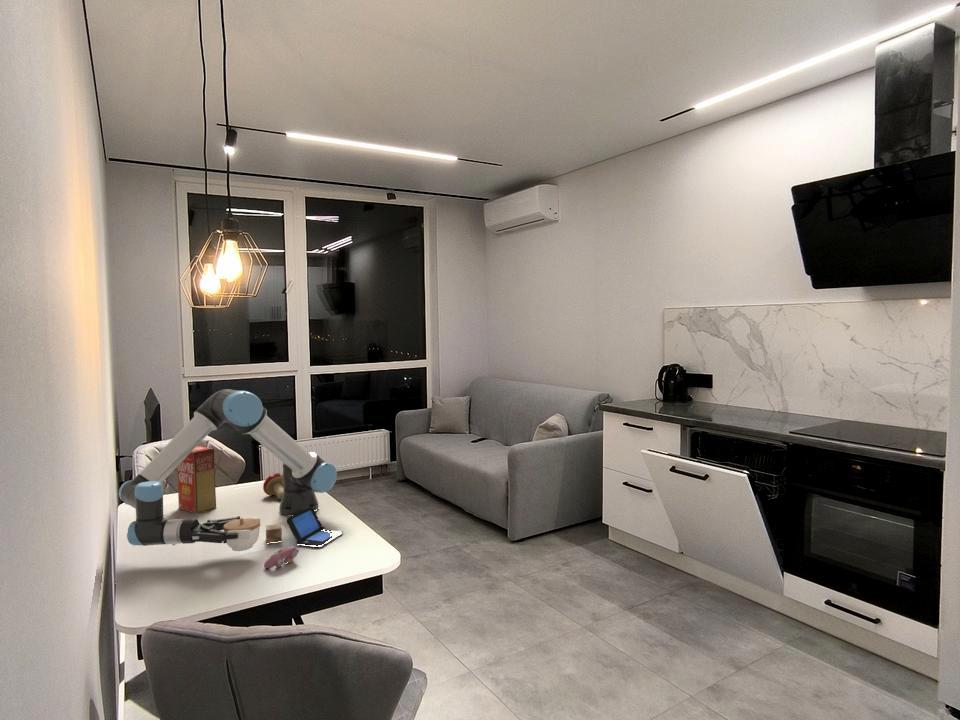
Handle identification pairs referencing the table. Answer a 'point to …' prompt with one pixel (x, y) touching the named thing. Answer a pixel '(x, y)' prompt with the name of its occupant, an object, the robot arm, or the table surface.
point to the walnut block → (273, 533)
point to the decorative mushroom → (274, 485)
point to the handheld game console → (308, 528)
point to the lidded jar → (243, 525)
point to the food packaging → (197, 481)
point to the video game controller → (281, 557)
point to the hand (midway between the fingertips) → (255, 528)
